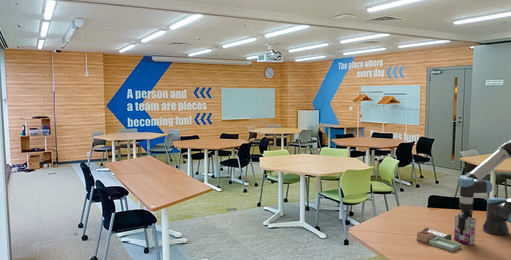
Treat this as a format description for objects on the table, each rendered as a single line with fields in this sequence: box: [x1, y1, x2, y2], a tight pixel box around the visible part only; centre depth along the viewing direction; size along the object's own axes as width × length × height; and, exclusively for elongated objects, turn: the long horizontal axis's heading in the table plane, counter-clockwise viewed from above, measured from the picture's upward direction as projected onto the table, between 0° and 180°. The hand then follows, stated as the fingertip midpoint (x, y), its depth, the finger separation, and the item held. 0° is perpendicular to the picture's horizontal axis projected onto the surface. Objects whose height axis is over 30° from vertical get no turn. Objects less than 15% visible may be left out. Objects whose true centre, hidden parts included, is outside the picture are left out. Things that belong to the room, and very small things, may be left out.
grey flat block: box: [427, 229, 448, 238], centre depth 253 cm, size 6×12×1 cm, turn 37°
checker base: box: [422, 227, 452, 241], centre depth 253 cm, size 6×16×5 cm, turn 37°
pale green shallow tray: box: [428, 237, 462, 253], centre depth 240 cm, size 10×14×2 cm
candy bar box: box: [453, 213, 477, 246], centre depth 246 cm, size 11×5×16 cm, turn 23°
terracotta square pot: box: [416, 229, 433, 244], centre depth 248 cm, size 7×7×5 cm
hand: (464, 238), depth 247 cm, fingers closed on candy bar box, 6 cm apart
